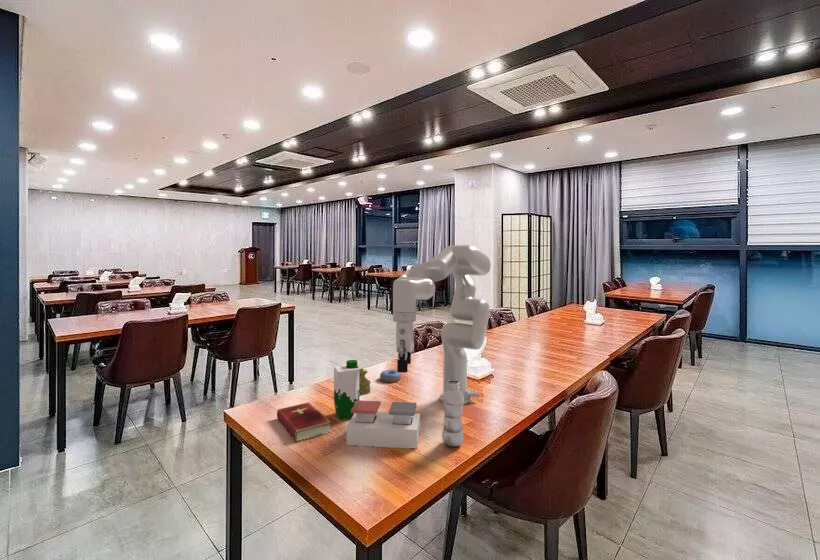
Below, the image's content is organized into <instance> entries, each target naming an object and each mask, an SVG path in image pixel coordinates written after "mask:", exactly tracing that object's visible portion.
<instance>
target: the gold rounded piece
mask: <svg viewBox="0 0 820 560" xmlns="http://www.w3.org/2000/svg"><path fill="white" fill-rule="evenodd" d="M359 369H360V371H359V395H366V394H368V393H370V392H371V381H370V379H369V378H368V377H366V375H367V373H368V370H367V369H364V368H359Z"/></svg>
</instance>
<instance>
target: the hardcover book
mask: <svg viewBox="0 0 820 560" xmlns="http://www.w3.org/2000/svg"><path fill="white" fill-rule="evenodd" d="M276 418H278V419H277V420H278V422H279V423H280V424H281V423H282V424H281V425H282V426H283V427H285V428H286V429H285V428H284V429H285V430H286V431H287V433H288V432H289V433H290V434H289V433H288V434H289V435H290V437H293V438H294V439H293V438H292V439H293V440H294V442H295V443H298V442H299V441H298V440H300V441H303V440H302V439H304V440H307V439H310V438H309V437H311V438H314V437H318V436H321V434H322V435H325V434H328V432H329V433H330V425H331V424H332V422H331V421H330V420H329V419H328V418H327V417H326V416H325V415H324V414H323V413H322V412H320V410H318V409H317V408H316V407H315V406H314V405H313V404H312V403H311V402H309V401H308V402H304V403H299V404H296V405H291V406H290V405H289V406H287V407H283V408H282V407H281V408H278V409H277V411H276ZM317 435H318V436H317ZM313 436H314V437H313ZM306 438H307V439H306Z"/></svg>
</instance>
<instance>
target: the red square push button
mask: <svg viewBox="0 0 820 560" xmlns="http://www.w3.org/2000/svg"><path fill="white" fill-rule="evenodd" d="M381 404H382V403H381V401H380V400H360V399H359V400H357V402H356V403H355V405H354V406H353V408H352V409H351V413H356V423H374V422H375V420H376V413H377V412H379V409H380V406H381Z"/></svg>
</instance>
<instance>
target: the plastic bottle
mask: <svg viewBox="0 0 820 560" xmlns="http://www.w3.org/2000/svg"><path fill="white" fill-rule="evenodd" d="M447 388H448V390H447V391H446V392H445V394H444V396H443V402H442V403H443V412H444V413H443V414H444V420H443V421H444V422H443V429H442V432H441V433H442V435H441V437H442V441H443V444H444V445H446V446H447V447H451V448H454V447H459V446H461V445H462V444H463V442H464V438H465V437H464V436H465V435H464V431H463V420H462V419H463V410H464V405H465V404H464V397H463V395H462V393H461V392H460V390H459V388H460V386H459V381H456V380H449V381H448V382H447Z"/></svg>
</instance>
